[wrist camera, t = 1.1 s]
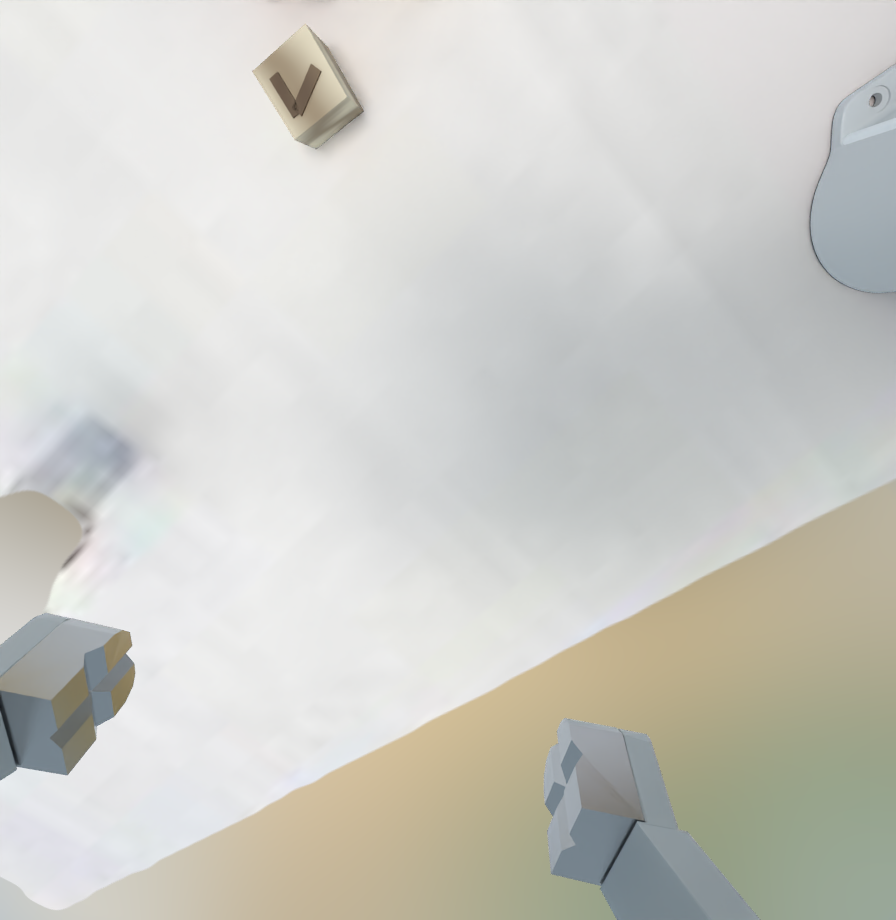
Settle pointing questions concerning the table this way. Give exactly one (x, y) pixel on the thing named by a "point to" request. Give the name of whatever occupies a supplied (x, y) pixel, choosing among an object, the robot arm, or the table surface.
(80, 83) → the table surface
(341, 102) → the maple cube seven
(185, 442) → the table surface
